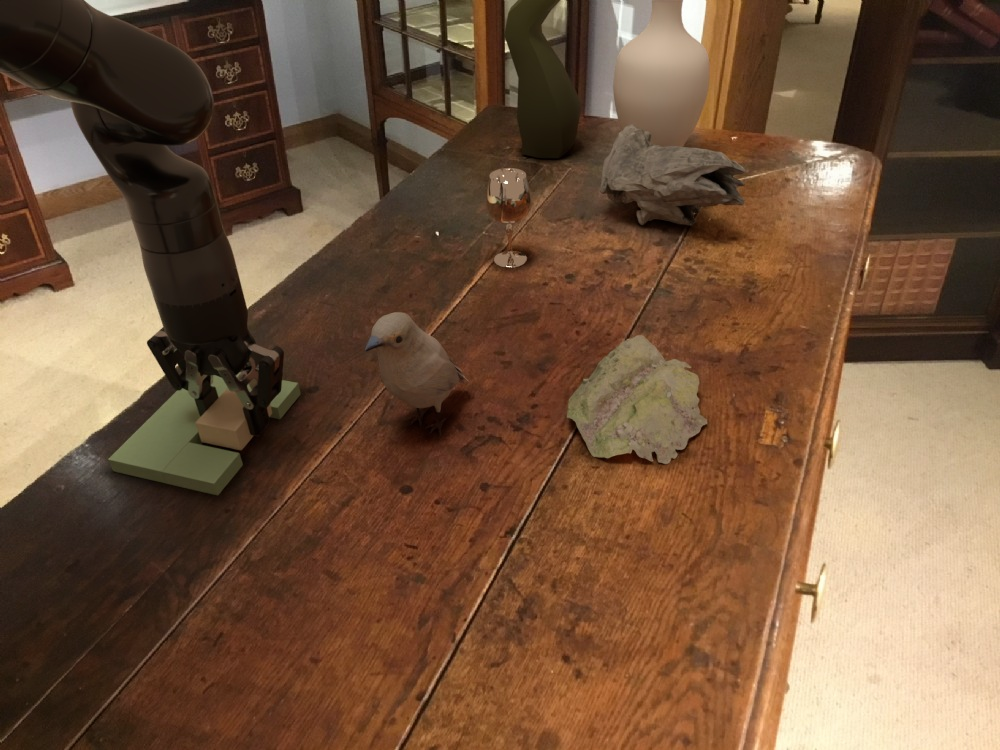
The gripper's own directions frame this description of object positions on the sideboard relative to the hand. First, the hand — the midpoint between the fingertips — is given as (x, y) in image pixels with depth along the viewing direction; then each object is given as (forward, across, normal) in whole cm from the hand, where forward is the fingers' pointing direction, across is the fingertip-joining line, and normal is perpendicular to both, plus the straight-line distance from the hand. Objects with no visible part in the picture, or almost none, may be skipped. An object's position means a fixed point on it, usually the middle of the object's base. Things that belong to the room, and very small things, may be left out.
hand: (237, 425), depth 86 cm
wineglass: (+2, +16, +42) cm, 45 cm away
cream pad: (0, 0, 0) cm, 0 cm away
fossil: (+2, +34, +59) cm, 68 cm away
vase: (+2, +29, +78) cm, 83 cm away
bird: (+2, +18, +7) cm, 19 cm away
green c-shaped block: (+2, -3, 0) cm, 4 cm away
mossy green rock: (+2, +38, +15) cm, 41 cm away
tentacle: (+2, +10, +79) cm, 80 cm away
